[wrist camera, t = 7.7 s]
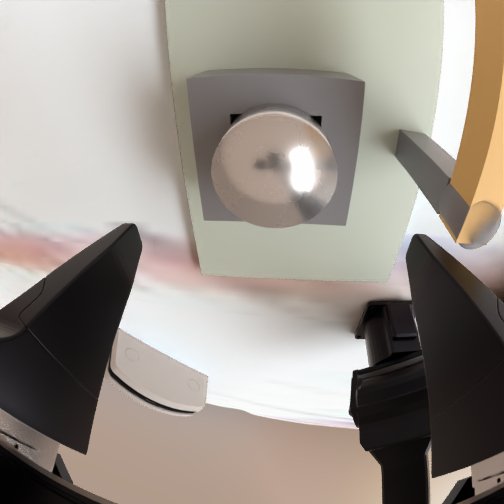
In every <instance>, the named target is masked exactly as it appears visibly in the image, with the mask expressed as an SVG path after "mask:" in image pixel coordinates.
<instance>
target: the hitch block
mask: <svg viewBox="0 0 504 504" xmlns="http://www.w3.org/2000/svg"><path fill="white" fill-rule="evenodd" d="M165 12H166V27H167V40H168V52H169V63H170V73H171V83H172V92H173V101H174V109H175V117H176V125H177V132H178V139H179V146H180V153H181V160H182V167H183V173H184V179H185V186H186V192H187V198H188V204H189V209H190V215H191V221H192V226H193V232H194V237H195V242H196V247H197V252H198V258H199V263H200V268H201V272H202V275H212V276H230V277H249V278H270V279H294V280H321V281H355V282H387V281H388V278H389V276H390V273H391V271H392V268H393V266H394V263H395V260H396V258H397V255H398V252H399V249H400V247H401V244H402V241H403V238H404V235H405V232H406V229H407V226H408V223H409V220H410V216H411V213H412V210H413V207H414V203H415V200H416V196H417V193H418V189H419V188H420V190H421V191H422V192H423V194H424V195H425V197H426V198H427V199H428V201H429V202H430V204H431V205H432V207H433V208H434V210H435V211H436V213H437V214H440V212H439V200H440V197H441V194H442V192H443V191H444V189H445V188H446V186H447V185H448V184H449V183H450V181H451V178H452V174H453V171H454V167H455V163H456V160H455V159H454V158H452V157H451V156H450V155H449V154H448V153H447V152H446V151H445V150H444V149H442V148H441V147H440V146H439V145H438V144H437V143H435V142H434V141H433V140H432V139H431V134H432V129H433V123H434V118H435V112H436V105H437V99H438V91H439V83H440V74H441V64H442V51H443V30H444V1H443V0H165ZM265 104H285V105H289V106H293V107H295V108H298V109H300V110H302V111H304V112H306V113H307V114H309V115H310V116H311V117H312V118H313V119H315V120H316V121H317V123H318V124H319V125H320V126H321V128H322V129H323V131H324V133H325V135H326V137H327V139H328V142H329V144H330V146H331V149H332V151H333V154H334V156H335V159H336V163H337V171H338V177H337V184H336V188H335V191H334V194H333V196H332V198H331V200H330V201H329V203H328V204H327V205H326V207H325V208H324V209H323V210H322V211H321V212H320V213H318V214H317V215H316V216H315V217H313V218H312V219H310V220H308V221H306V222H304V223H302V224H299V225H296V226H292V227H287V228H265V227H260V226H257V225H253V224H250V223H248V222H246V221H244V220H242V219H240V218H238V217H237V216H236V215H234V214H233V213H232V212H231V211H229V210H228V209H227V208H226V207H225V205H224V204H223V203H222V202H221V200H220V199H219V197H218V195H217V193H216V191H215V189H214V186H213V182H212V176H211V166H212V160H213V156H214V153H215V151H216V149H217V147H218V145H219V143H220V141H221V140H222V138H223V136H224V135H225V133H226V131H227V130H228V128H229V127H230V125H231V124H232V123H233V121H234V120H235V119H236V118H237V117H239V116H240V115H241V114H242V113H244V112H246V111H247V110H249V109H251V108H254V107H257V106H260V105H265Z"/></svg>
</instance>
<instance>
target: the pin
mask: <svg viewBox="0 0 504 504" xmlns="http://www.w3.org/2000/svg"><path fill="white" fill-rule="evenodd" d="M211 176H212V182H213V186H214V189H215V191H216V193H217V195H218V197H219V199H220V200H221V202H222V203H223V204H224V205H225V207H226V208H227V209H228V210H229V211H231V212H232V213H233V214H234V215H236V216H237V217H238V218H240V219H242V220H244V221H246V222H248V223H250V224H253V225H257V226H260V227H265V228H287V227H292V226H296V225H299V224H302V223H304V222H306V221H308V220H310V219H312V218H313V217H315V216H316V215H317V214H318V213H320V212H321V211H322V210H323V209H324V208H325V207H326V205H327V204H328V203H329V201H330V200H331V198H332V196H333V194H334V191H335V188H336V184H337V177H338V171H337V163H336V159H335V156H334V154H333V151H332V149H331V146H330V144H329V142H328V139H327V137H326V135H325V133H324V131H323V129H322V128H321V126H320V125H319V124H318V123H317V121H316V120H315V119H313V118H312V117H311V116H310V115H309V114H307V113H306V112H304V111H302V110H300V109H298V108H295V107H293V106H289V105H285V104H265V105H260V106H257V107H254V108H251V109H249V110H247V111H246V112H244V113H242V114H241V115H240V116H239V117H237V118H236V119H235V120H234V121H233V123H232V124H231V125H230V127H229V128H228V130H227V131H226V133H225V135H224V136H223V138H222V140H221V141H220V143H219V145H218V147H217V149H216V151H215V153H214V156H213V160H212V166H211Z"/></svg>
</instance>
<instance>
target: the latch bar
mask: <svg viewBox="0 0 504 504" xmlns="http://www.w3.org/2000/svg"><path fill="white" fill-rule="evenodd" d="M475 13H476V27H475V51H474V64H473V74H472V83H471V90H470V97H469V103H468V109H467V115H466V120H465V125H464V130H463V135H462V139H461V143H460V148H459V152H458V156H457V160H456V163H455V167H454V171H453V174H452V178H451V181H450V183H449V184H448V185H447V186H446V188H445V189H444V191H443V192H442V194H441V197H440V200H439V212H440V215H439V217H440V219H441V220H442V222H443V223H444V225H445V226H446V228H447V230H448V231H449V233H450V234H451V236H452V238H453V239H454V241H455V243H459V245H460V246H462V247H463V248H465V249H476V248H479V247H481V246H483V245H487V243H488V242H489V241H490V240H491V239H492V238H493V236H494V235H495V234H496V232H497V230H498V228H499V226H500V222H501V211H502V209H503V206H504V0H475Z"/></svg>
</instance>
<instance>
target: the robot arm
mask: <svg viewBox="0 0 504 504" xmlns="http://www.w3.org/2000/svg"><path fill="white" fill-rule="evenodd" d="M141 251H142V241H141V238H140V235H139V232H138V229H137V226H136V225H135V224H133V223H125V224H122V225H120V226H119V227H117V228H116V229H114V230H113V231H111V232H109V233H108V234H106V235H105V236H103V237H102V238H100V239H99V240H97V241H96V242H94V243H93V244H91V245H90V246H88V247H87V248H85V249H84V250H82V251H81V252H79V253H78V254H77V255H75V256H74V257H72V258H71V259H69V260H68V261H67V262H65V263H64V264H62V265H61V266H60V267H58V268H57V269H55V270H54V271H53V272H51V273H50V274H49V275H47V276H46V278H43V279H42V280H41V281H39V282H38V283H37V284H35V285H34V286H33V287H31V288H30V289H29V290H27V291H26V292H24V293H23V294H22V295H20V296H19V297H17V298H16V299H15V300H13V301H12V302H10V303H9V304H8V305H6V306H5V307H3V308H2V309H1V310H0V504H117V503H114V502H112V501H109V500H107V499H104V498H102V497H99V496H97V495H95V494H93V493H90V492H88V491H86V490H84V489H82V488H80V487H78V486H76V485H73V482H72V480H71V477H70V475H69V473H68V471H67V469H66V467H65V464H64V462H63V460H62V458H61V455H60V454H58V449H59V445H60V443H61V444H63V445H65V446H67V447H69V448H71V449H74V450H75V451H78V452H80V453H83V454H85V455H86V453H87V450H88V444H89V439H90V434H91V429H92V424H93V420H94V415H95V411H96V407H97V402H98V397H99V394H100V390H101V386H102V382H103V378H104V374H105V371H106V367H107V363H108V360H109V356H110V353H111V350H112V346H113V343H114V340H115V337H116V333H117V330H118V327H119V324H120V321H121V318H122V315H123V312H124V309H125V306H126V303H127V300H128V298H129V295H130V292H131V289H132V285H133V282H134V278H135V274H136V270H137V266H138V262H139V259H140V255H141ZM406 264H407V270H408V276H409V283H410V290H411V297H412V301H411V302H369V303H368V304H367V306H366V308H365V311H364V313H363V316H362V318H361V320H360V323H359V325H358V327H357V330H356V332H355V338H356V339H365V341H366V348H367V355H368V362H369V367H368V368H364V369H361V370H354V371H353V378H352V381H351V399H350V407H349V415H350V416H352V417H353V420H354V423H355V425H356V427H357V428H359V431H360V444H361V445H362V447H363V448H364V450H365V451H369V452H370V453H371V454H372V456H373V457H374V458H375V459H376V460H377V461H378V463H379V464H380V465H381V470H382V503H383V504H430V477H429V461H428V452H429V449H430V447H431V451H432V471H431V473H432V478H435V477H438V476H442V475H445V474H448V473H451V472H454V471H457V470H460V469H463V468H465V467H468V466H471V472H472V476H469V477H467V478H465V479H462V480H459V481H458V482H457V483H456V484H455V486H454V488H453V489H452V490H451V492H450V493H449V495H448V496H447V498H446V499H445V501H444V502H443V503H442V504H504V303H503V302H502V301H501V300H500V299H499V298H497V296H496V295H495V294H494V293H493V292H492V291H491V290H490V289H489V288H488V287H487V286H485V285H484V284H483V283H482V282H481V281H480V280H479V279H478V278H477V277H476V276H475V275H473V274H472V273H471V272H470V271H469V270H468V269H467V268H466V267H464V266H463V265H462V264H461V263H460V262H459V261H457V260H456V259H455V258H454V257H453V256H452V255H450V254H449V253H448V252H447V251H446V250H444V249H443V248H442V247H441V246H439V245H438V244H437V243H436V242H434V241H433V240H432V239H431V238H429V237H428V236H427V235H425V234H415V235H414V236H413V237H412V240H411V242H410V245H409V248H408V250H407V253H406ZM415 316H416V321H417V326H418V331H419V336H420V342H421V345H420V342H419V338H418V331H417V327H416V324H415V320H414V318H415ZM421 347H422V350H421Z"/></svg>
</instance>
